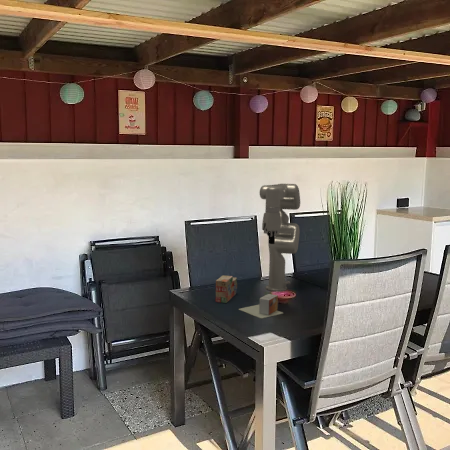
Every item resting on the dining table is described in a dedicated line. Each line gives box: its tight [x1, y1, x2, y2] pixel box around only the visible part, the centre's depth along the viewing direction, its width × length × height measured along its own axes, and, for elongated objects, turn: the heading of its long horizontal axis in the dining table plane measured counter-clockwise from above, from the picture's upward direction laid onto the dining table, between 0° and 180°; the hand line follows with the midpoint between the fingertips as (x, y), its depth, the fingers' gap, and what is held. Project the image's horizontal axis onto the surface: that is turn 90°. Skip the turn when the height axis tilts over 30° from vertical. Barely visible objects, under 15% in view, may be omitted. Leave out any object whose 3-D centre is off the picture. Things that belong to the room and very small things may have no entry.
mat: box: [238, 304, 284, 320], centre depth 259 cm, size 15×18×1 cm
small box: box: [258, 293, 279, 315], centre depth 257 cm, size 8×6×10 cm
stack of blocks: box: [215, 275, 238, 304], centre depth 283 cm, size 21×6×12 cm, turn 163°
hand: (271, 243), depth 274 cm, fingers closed
